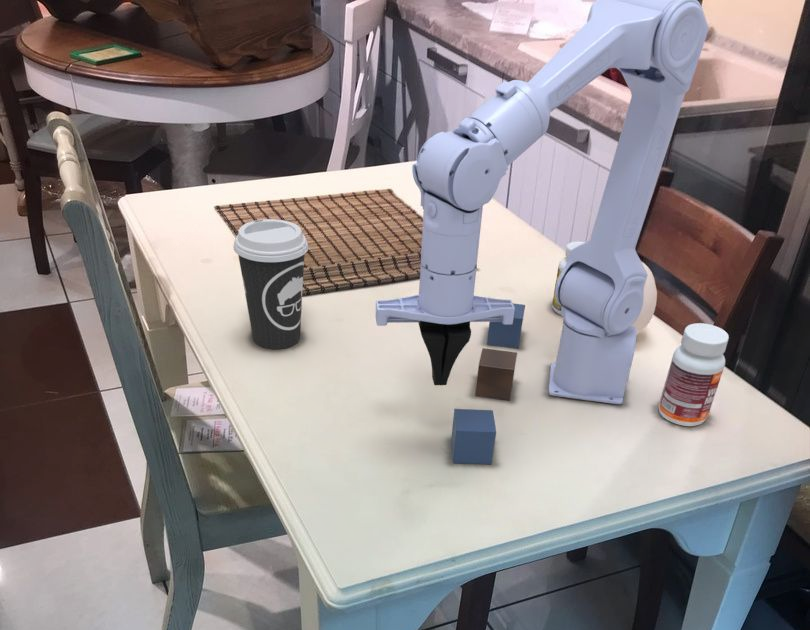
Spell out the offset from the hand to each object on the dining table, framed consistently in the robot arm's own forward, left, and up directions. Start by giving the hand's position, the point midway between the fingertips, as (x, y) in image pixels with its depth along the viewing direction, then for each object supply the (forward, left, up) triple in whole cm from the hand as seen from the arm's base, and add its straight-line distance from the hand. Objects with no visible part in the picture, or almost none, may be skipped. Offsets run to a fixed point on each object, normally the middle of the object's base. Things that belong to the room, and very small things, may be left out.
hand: (439, 380), depth 94 cm
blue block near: (-5, +1, -8) cm, 9 cm away
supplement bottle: (-15, -39, -8) cm, 43 cm away
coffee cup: (+25, -19, -8) cm, 33 cm away
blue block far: (-6, -27, -8) cm, 29 cm away
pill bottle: (-30, -13, -8) cm, 34 cm away
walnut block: (-6, -13, -8) cm, 17 cm away
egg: (-22, -32, -8) cm, 40 cm away
